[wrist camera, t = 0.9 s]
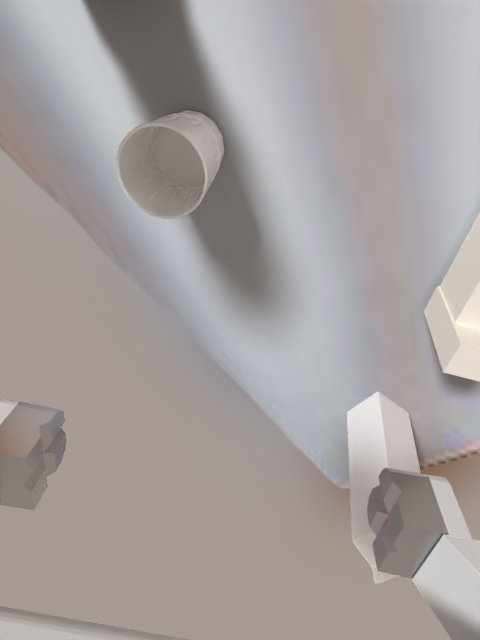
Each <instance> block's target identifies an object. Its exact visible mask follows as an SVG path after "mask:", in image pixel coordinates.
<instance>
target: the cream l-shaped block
mask: <svg viewBox="0 0 480 640" xmlns="http://www.w3.org/2000/svg"><path fill="white" fill-rule="evenodd" d="M424 314H425V317H426V320H427V323H428V327H429V330H430V333H431V336H432V339H433V342H434V345H435V348H436V351H437V355H438V358H439V361H440V364H441V367H442V370H443V372H444V373H448V374H452V375H456V376H460V377H463V378H467V379H471V380H475V381H479V382H480V213H479V214H478V216H477V218H476V220H475V222H474V224H473V225H472V227H471V229H470V231H469V233H468V235H467V237H466V238H465V240H464V242H463V244H462V246H461V248H460V250H459V251H458V253H457V255H456V257H455V259H454V261H453V263H452V264H451V266H450V268H449V270H448V272H447V274H446V276H445V277H444V279H443V281H442V283H441V285H440V286H437V288H436V289H435V291H434V293H433V295H432V297H431V299H430V301H429V302H428V304H427V306H426V308H425V310H424Z"/></svg>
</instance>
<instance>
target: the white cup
mask: <svg viewBox="0 0 480 640" xmlns="http://www.w3.org/2000/svg"><path fill="white" fill-rule="evenodd" d="M223 155H224V144H223V136H222V134H221V133H220V131H219V129H218V127H217V126H216V124H215V122H214V121H212V120H211V119H210V118H208V117H207V116H206V115H204V114H203V113H201V112H195V111H189V110H185V111H182V112H179V113H173V114H170V115H166V116H163V117H161V118H158V119H155V120H153V121H150V122H148V123H145V124H143V125H140V126H138V127H136V128H134V129H133V130H132V131H130V132H129V133H128V134H127V135H126V136H125V138H124V139H123V141H122V143H121V145H120V147H119V150H118V154H117V173H118V177H119V181H120V183H121V186H122V188H123V190H124V191H125V193H126V195H127V196H128V197H129V199H130V200H131V201H132V202H133V203H134V204H135V205H136V206H137V207H138V208H140V209H141V210H143V211H144V212H146V213H148V214H150V215H152V216H155V217H158V218H164V219H174V218H179V217H183V216H185V215H187V214H189V213H191V212H192V211H193V210H194V209H196V208H197V206H198V205H199V204H200V203H201V201H202V199H203V198H204V196H205V194H206V192H207V191H208V189H209V187H210V185H211V184H212V182H213V180H214V178H215V176H216V174H217V172H218V169H219V167H220V164H221V161H222V158H223Z"/></svg>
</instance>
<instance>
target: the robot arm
mask: <svg viewBox="0 0 480 640" xmlns="http://www.w3.org/2000/svg"><path fill="white" fill-rule="evenodd" d="M64 421H65V420H64V412H63V411H61V410H58V409H53V408H49V407H44V406H39V405H34V404H29V403H24V402H18V401H13V400H8V399H3V398H2V399H0V505H4V506H10V507H18V508H24V509H31V510H34V509H35V507H36V506H37V504H38V502H39V500H40V499H41V497H42V495H43V493H44V492H45V490H46V488H47V476H49V475H50V474H52V473H53V472H55V471H56V470H57V468H58V466H59V464H60V463H61V461H62V457H63V454H64V451H65V447H66V433H65V432H64V431H63V430H62V429H61V426H62V425H63V423H64ZM378 478H379V482H380V485H378V486H376V487H375V488H373V489H372V491H371V494H370V496H369V500H368V506H367V516H368V523H369V527H370V528H371V530H372V531H373V532H374V533H375V535H376V538H375V540H374V542H373V544H372V545H373V550H374V556H375V561H376V566H377V571H380V572H384V573H389V574H394V575H399V576H404V577H409V578H413V579H412V581H413V582H414V584H415V585H416V587H417V588H418V590H419V591H420V593H421V594H422V596H423V597H424V599H425V600H426V602H427V603H428V605H429V606H430V608H431V609H432V611H433V612H434V614H435V615H436V617H437V618H438V620H439V621H440V622H441V624H442V626H443V627H444V629H445V630H446V632H447V633H448V634H449V636H450V637H451V639H452V640H480V542H479V541H478V540H473V539H472V537H471V535H470V532H469V530H468V527H467V525H466V522H465V520H464V517H463V515H462V512H461V510H460V507H459V505H458V502H457V500H456V497H455V495H454V492H453V490H452V487H451V485H450V482H449V481H448V480H447V479H446V478H443V477H437V476H432V475H426V474H425V475H424V474H421V473H415V472H409V471H403V470H397V469H391V468H384V469H383V470H382V471H381V473H380V475H379V477H378ZM0 640H188V639H182V638H177V637H171V636H166V635H160V634H154V633H148V632H143V631H137V630H132V629H126V628H120V627H115V626H108V625H103V624H98V623H92V622H86V621H81V620H75V619H69V618H63V617H58V616H52V615H47V614H41V613H35V612H30V611H24V610H18V609H13V608H7V607H1V606H0Z"/></svg>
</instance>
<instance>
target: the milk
mask: <svg viewBox="0 0 480 640" xmlns="http://www.w3.org/2000/svg"><path fill="white" fill-rule="evenodd" d="M347 429H348V453H349V477H350V501H351V523H352V524H351V525H352V541H353V543H354V544H355V546H356V547H357V548H358V550H359V551H360V553H361V554H362V555H363V557H364V558H365V559H366V561H367V562H368V563H369V565H370V566H371V567H372V568H373V578H374V582H375V583H376V584H378V583H381V582H383V581H386V580H389V579H392V578H395V577H398V576H399V575H394V574H389V573H384V572H380V571H377V566H376V561H375V556H374V550H373V545H372V544H373V542H374V540H375V538H376V535H375V533H374V532H373V531H372V530H371V528H370V527H369V523H368V516H367V506H368V500H369V496H370V494H371V491H372V489H373V488H375V487H376V486H378V485H380V482H379V478H378V477H379V475H380V473H381V471H382V470H383V469H384V468H391V469H397V470H403V471H409V472H415V473H420V467H419V462H418V457H417V452H416V447H415V442H414V437H413V432H412V427H411V422H410V417H409V413H407V412H406V411H405V410H403V409H402V408H401V407H399V406H398V405H397V404H395V403H394V402H392V401H391V400H390V399H388V398H387V397H386V396H384V395H383V394H382V393H380V392H379V391H377V392H376V393H374V394H373V395H371V396H370V397H369V398H367V399H366V400H364V401H363V402H361V403H360V404H358V405H357V406H355V407H354V408H352V409H351V410H349V411H348V412H347Z"/></svg>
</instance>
